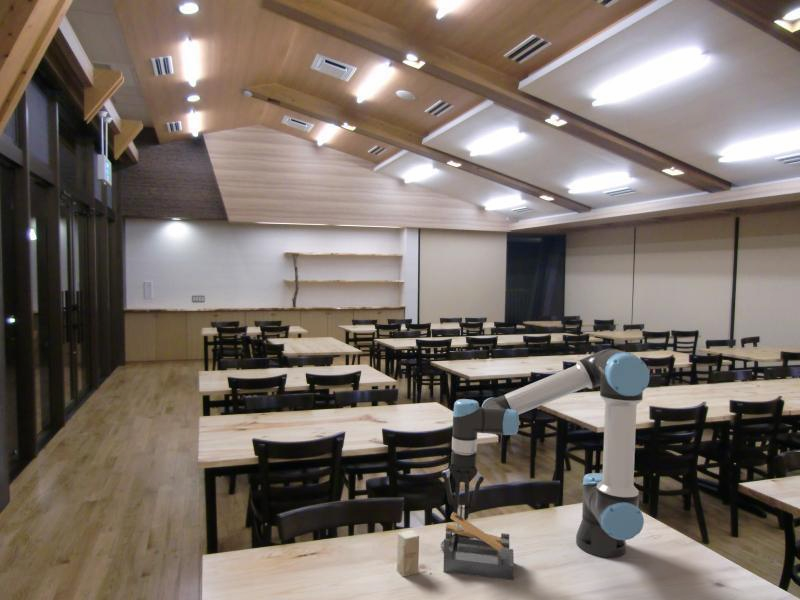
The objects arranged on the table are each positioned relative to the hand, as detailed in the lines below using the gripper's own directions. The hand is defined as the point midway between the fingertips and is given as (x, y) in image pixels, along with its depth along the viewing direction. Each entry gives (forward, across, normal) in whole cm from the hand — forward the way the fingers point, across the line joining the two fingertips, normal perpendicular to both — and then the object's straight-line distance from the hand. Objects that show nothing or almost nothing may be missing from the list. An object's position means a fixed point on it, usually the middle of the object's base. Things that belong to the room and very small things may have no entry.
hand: (460, 527), depth 160 cm
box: (+11, +14, +10) cm, 20 cm away
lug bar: (+6, +3, +3) cm, 7 cm away
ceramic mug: (+10, +1, -6) cm, 12 cm away
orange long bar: (+2, -5, 0) cm, 5 cm away
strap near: (-1, -6, +5) cm, 8 cm away
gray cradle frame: (+10, -6, +3) cm, 12 cm away
